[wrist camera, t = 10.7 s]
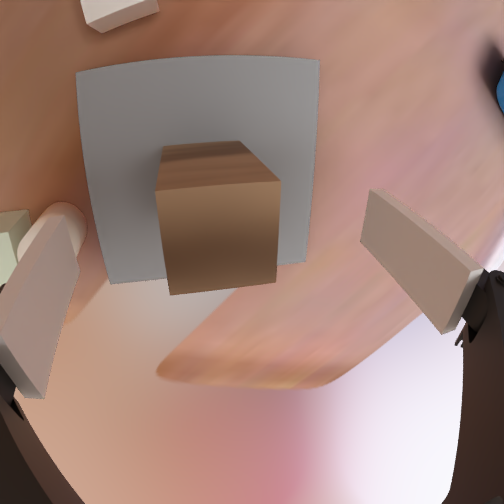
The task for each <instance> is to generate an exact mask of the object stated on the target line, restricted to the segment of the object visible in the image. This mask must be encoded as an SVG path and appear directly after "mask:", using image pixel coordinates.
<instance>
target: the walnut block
mask: <svg viewBox="0 0 504 504" xmlns="http://www.w3.org/2000/svg"><path fill="white" fill-rule="evenodd" d="M155 195H156V204H157V212H158V220H159V227H160V235H161V242H162V249H163V255H164V262H165V268H166V274H167V280H168V286H169V292H170V295H178V294H187V293H196V292H205V291H212V290H220V289H229V288H237V287H245V286H253V285H261V284H268V283H275V282H276V272H277V256H278V238H279V218H280V198H281V180H280V179H279V178H278V177H277V176H276V175H275V174H274V173H273V172H272V171H271V170H270V169H269V168H268V167H267V166H265V165H264V164H263V163H262V162H261V161H260V160H259V159H258V158H257V157H256V156H255V155H254V154H253V153H252V152H251V151H250V150H249V149H248V148H247V147H246V146H245V145H244V144H243V143H241V142H240V141H219V142H204V143H191V144H179V145H169V146H163V150H162V155H161V160H160V166H159V171H158V177H157V183H156V189H155Z"/></svg>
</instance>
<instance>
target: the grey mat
mask: <svg viewBox="0 0 504 504" xmlns="http://www.w3.org/2000/svg"><path fill="white" fill-rule="evenodd" d="M319 70H320V60H313V59H303V58H292V57H277V56H253V55H214V56H191V57H176V58H164V59H154V60H146V61H138V62H131V63H124V64H117V65H111V66H106V67H100V68H95V69H90V70H85V71H81V72H76V89H77V103H78V115H79V125H80V135H81V143H82V151H83V158H84V165H85V171H86V178H87V184H88V189H89V195H90V200H91V205H92V210H93V215H94V220H95V225H96V229H97V234H98V238H99V242H100V247H101V251H102V255H103V259H104V263H105V266H106V270H107V274H108V278H109V281H110V284H119V283H127V282H137V281H147V280H156V279H165V278H167V274H166V268H165V262H164V255H163V249H162V242H161V235H160V227H159V220H158V212H157V204H156V195H155V189H156V183H157V177H158V171H159V166H160V160H161V155H162V150H163V146H169V145H179V144H191V143H204V142H219V141H240V142H241V143H243V144H244V145H245V146H246V147H247V148H248V149H249V150H250V151H251V152H252V153H253V154H254V155H255V156H256V157H257V158H258V159H259V160H260V161H261V162H262V163H263V164H264V165H265V166H267V167H268V168H269V169H270V170H271V171H272V172H273V173H274V174H275V175H276V176H277V177H278V178H279V179H280V180H281V198H280V218H279V238H278V256H277V265H285V264H293V263H301V262H306V253H307V244H308V234H309V224H310V214H311V203H312V191H313V179H314V165H315V151H316V135H317V118H318V97H319Z"/></svg>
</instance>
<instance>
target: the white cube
mask: <svg viewBox="0 0 504 504" xmlns="http://www.w3.org/2000/svg"><path fill="white" fill-rule="evenodd" d="M80 1H81V5H82V9H83V13H84V16H85V20H86V24H87V25H89V26H90V27H92V28H94V29H95V30H97V31H99V32H100V33H104V32H107V31H109V30H111V29H114V28H116V27H119V26H121V25H124V24H126V23H129V22H131V21H134V20H137V19H139V18H142V17H145V16H148V15H151V14H154V13H157V12H160V11H159V6H158V2H157V0H80Z"/></svg>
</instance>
